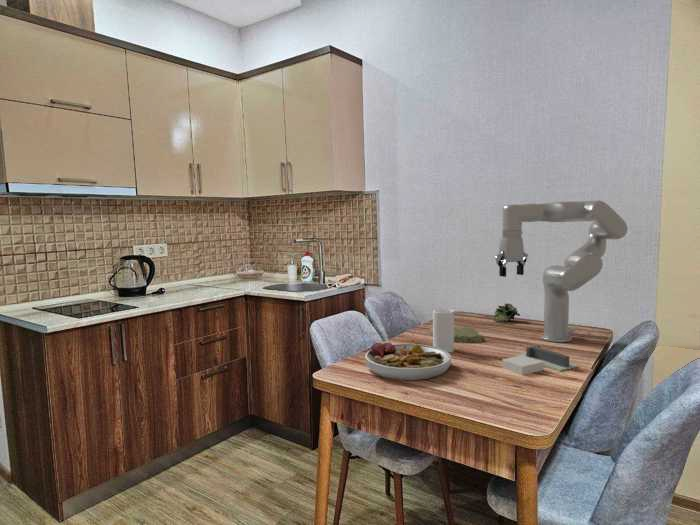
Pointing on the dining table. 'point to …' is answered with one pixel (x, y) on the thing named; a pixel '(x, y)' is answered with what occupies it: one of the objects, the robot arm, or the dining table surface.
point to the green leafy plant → (505, 312)
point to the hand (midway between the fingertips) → (511, 275)
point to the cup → (443, 329)
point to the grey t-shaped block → (547, 356)
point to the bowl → (407, 361)
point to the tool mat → (551, 364)
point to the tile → (522, 365)
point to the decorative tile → (464, 334)
